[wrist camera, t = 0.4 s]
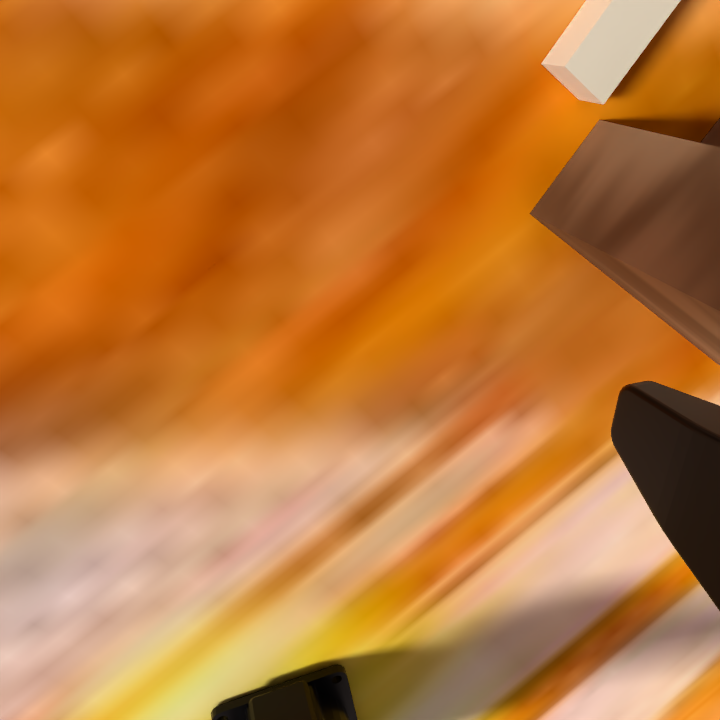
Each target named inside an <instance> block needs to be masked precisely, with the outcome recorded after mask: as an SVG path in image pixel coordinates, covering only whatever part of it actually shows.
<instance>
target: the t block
mask: <svg viewBox="0 0 720 720" xmlns="http://www.w3.org/2000/svg"><path fill="white" fill-rule="evenodd" d="M530 214H531V215H532V216H533V217H534V218H536V219H537V220H538V221H539V222H541V223H542V224H543V225H544V226H546V227H547V228H548V229H549V230H551V231H552V232H553V233H555V234H556V235H557V236H558V237H560V238H561V239H562V240H563V241H565V242H566V243H567V244H568V245H570V246H571V247H572V248H573V249H575V250H576V251H577V252H578V253H580V254H581V255H582V256H583V257H585V258H586V259H587V260H588V261H590V262H591V263H592V264H593V265H595V266H596V267H597V268H598V269H600V270H601V271H602V272H603V273H605V274H606V275H607V276H608V277H610V278H611V279H612V280H613V281H615V282H616V283H617V284H618V285H620V286H621V287H622V288H623V289H625V290H626V291H627V292H628V293H630V294H631V295H632V296H633V297H635V298H636V299H637V300H638V301H640V302H641V303H642V304H643V305H645V306H646V307H647V308H648V309H650V310H651V311H652V312H653V313H655V314H656V315H657V316H658V317H660V318H661V319H662V320H663V321H665V322H666V323H667V324H668V325H670V326H671V327H672V328H673V329H675V330H676V331H677V332H678V333H680V334H681V335H682V336H683V337H685V338H686V339H687V340H688V341H690V342H691V343H692V344H693V345H695V346H696V347H697V348H698V349H700V350H701V351H702V352H703V353H705V354H706V355H707V356H708V357H710V358H711V359H712V360H713V361H715V362H716V363H717V364H719V365H720V119H719V120H718V121H717V122H716V124H715V125H714V126H713V127H712V129H711V130H710V131H709V133H708V134H707V135H706V136H705V138H704V139H703V140H702V141H701V143H698V142H694V141H690V140H685V139H681V138H677V137H672V136H668V135H664V134H659V133H655V132H651V131H646V130H642V129H637V128H633V127H629V126H624V125H620V124H616V123H611V122H607V121H603V120H599V121H598V123H597V124H596V125H595V127H594V128H593V129H592V131H591V132H590V133H589V135H588V136H587V137H586V139H585V140H584V141H583V143H582V144H581V145H580V147H579V148H578V149H577V151H576V152H575V153H574V155H573V156H572V158H571V159H570V160H569V162H568V163H567V164H566V166H565V167H564V168H563V170H562V171H561V172H560V174H559V175H558V176H557V178H556V179H555V180H554V182H553V183H552V184H551V186H550V187H549V188H548V190H547V191H546V193H545V194H544V195H543V197H542V198H541V199H540V201H539V202H538V203H537V205H536V206H535V207H534V209H533V210H532V211H531V213H530Z"/></svg>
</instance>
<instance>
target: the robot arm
mask: <svg viewBox="0 0 720 720" xmlns="http://www.w3.org/2000/svg"><path fill="white" fill-rule="evenodd" d="M611 437H612V441H613V444H614V446H615V448H616V450H617V452H618V454H619V455H620V457H621V459H622V461H623V462H624V464H625V466H626V468H627V469H628V471H629V473H630V475H631V476H632V478H633V480H634V482H635V483H636V485H637V487H638V489H639V490H640V492H641V494H642V496H643V497H644V499H645V501H646V503H647V505H648V506H649V508H650V510H651V512H652V513H653V515H654V517H655V518H656V520H657V522H658V523H659V525H660V527H661V528H662V530H663V531H664V533H665V534H666V536H667V537H668V539H669V540H670V542H671V543H672V545H673V546H674V548H675V549H676V550H677V552H678V553H679V555H680V556H681V557H682V559H683V560H684V562H685V563H686V564H687V566H688V567H689V569H690V570H691V571H692V573H693V574H694V576H695V577H696V578H697V580H698V581H699V583H700V584H701V585H702V587H703V588H704V590H705V591H706V592H707V594H708V595H709V597H710V598H711V599H712V601H713V602H714V604H715V605H716V606H717V608H718V609H719V611H720V406H719V405H716V404H713V403H710V402H708V401H705V400H702V399H700V398H697V397H694V396H691V395H689V394H686V393H683V392H680V391H678V390H675V389H672V388H669V387H667V386H664V385H661V384H658V383H656V382H652V381H644V382H639V383H633V384H628V385H626V386H624V387H623V388H622V389H621V391H620V393H619V396H618V401H617V405H616V410H615V414H614V418H613V423H612V427H611ZM211 717H212V720H357V716H356V712H355V708H354V704H353V700H352V695H351V691H350V687H349V683H348V679H347V675H346V672H345V669H344V667H343V666H341V665H335V666H331V667H328V668H325V669H323V670H320V671H317V672H314V673H311V674H308V675H305V676H302V677H300V678H297V679H294V680H291V681H288V682H285V683H282V684H279V685H277V686H274V687H271V688H268V689H265V690H262V691H259V692H256V693H254V694H251V695H248V696H245V697H242V698H239V699H236V700H233V701H231V702H228V703H225V704H222V705H219V706H217V707H215V708H214V709H213V710H212V712H211Z"/></svg>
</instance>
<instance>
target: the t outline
mask: <svg viewBox="0 0 720 720" xmlns="http://www.w3.org/2000/svg"><path fill="white" fill-rule="evenodd" d="M680 1H681V0H586V1H585V2H584V4H583V5H582V7H581V8H580V10H579V11H578V12H577V14H576V15H575V17H574V18H573V19H572V21H571V22H570V24H569V25H568V27H567V28H566V29H565V31H564V32H563V34H562V35H561V36H560V38H559V39H558V41H557V42H556V43H555V45H554V46H553V48H552V49H551V51H550V52H549V53H548V55H547V56H546V58H545V59H544V60H543V62H542V63H541V64H542V65H543V66H544V67H545V68H546V69H547V70H548V71H549V72H550V73H551V74H552V75H554V76H555V77H556V78H557V79H558V80H559V81H560V82H561V83H562V84H563V85H564V86H565V87H566V88H567V89H568V90H569V91H570V92H571V93H572V94H573V95H574V96H575V97H576V98H577V99H578V100H583V101H588V102H593V103H598V104H603V105H604V103H605V102H606V101H607V99H608V98H609V96H610V95H611V94H612V92H613V91H614V90H615V88H616V87H617V86H618V84H619V83H620V82H621V80H622V79H623V78H624V76H625V75H626V74H627V72H628V71H629V69H630V68H631V67H632V65H633V64H634V63H635V61H636V60H637V59H638V57H639V56H640V55H641V53H642V52H643V51H644V49H645V48H646V46H647V45H648V44H649V42H650V41H651V40H652V38H653V37H654V36H655V34H656V33H657V32H658V30H659V29H660V28H661V26H662V25H663V24H664V22H665V21H666V19H667V18H668V17H669V15H670V14H671V13H672V11H673V10H674V9H675V7H676V6H677V5H678V3H679V2H680Z"/></svg>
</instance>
